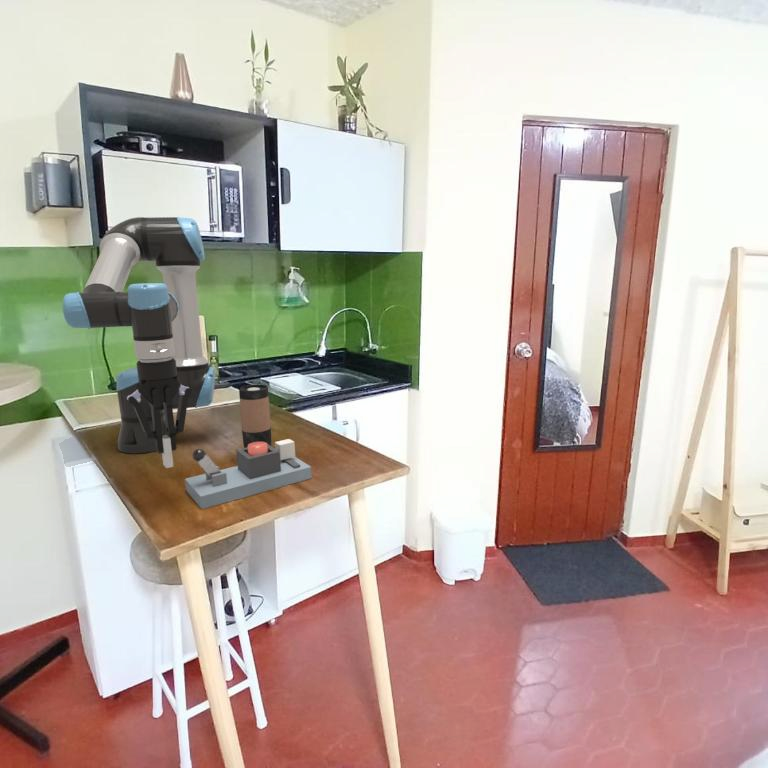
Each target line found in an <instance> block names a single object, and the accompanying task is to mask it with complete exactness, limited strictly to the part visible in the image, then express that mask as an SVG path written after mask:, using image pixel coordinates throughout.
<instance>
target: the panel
mask: <svg viewBox="0 0 768 768" xmlns="http://www.w3.org/2000/svg"><path fill="white" fill-rule="evenodd" d="M267 448H268V453H264V454H260V455H256V456H250V455H249V454H248V447H247V448H244V447H243V448H239V449H235V453H236V461H237V464H236V466H232V467H231V466H230V467H228V468H223V469H220V466H218V465H216V467H217V468H218V469H219V470H220V471H221V473H218V474H214V475H212V478H211V477H210V476H209V475H208V474H207V473H206V472H205V473H203V474H202V473H201V474H199V475H194V476H190V477H187V478H184V484H185V485H184V486H185V491H186V492H187V494H188V495H189V496H190V497H191V498H192V500H194V502H195V503H196V504H197V505H198V506H199V508H200V509H201V510H204V509H207V508H211V507H214V506H218V505H221V504H225V503H228V502H229V503H230V502H232V501H236V500H239V499H242V498H247V497H250V496H254V495H257V494H260V493H264V492H267V491H271V490H275V489H278V488H279V489H280V488H283V487H285V486H289V485H292V484H296V483H299V482H303V481H306V480H309V479H312V477H313V476H312V466H311V465H309V464H308V463H306V462H304V461H303V460H301V459H300V458H298V457H296V456H295V457H292V458H288V459H284V460H280V452H279V451H278V450H276V449H275V447H273V446H270V445H269V444H267Z"/></svg>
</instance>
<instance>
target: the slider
mask: <svg viewBox="0 0 768 768" xmlns="http://www.w3.org/2000/svg"><path fill="white" fill-rule="evenodd" d="M295 443H296V442H295V441H294V440H292V439H290V438H287V439H282V440H279V441H275V442H274V448H275V449H276V450H278V451H279V452H280V460H284V459H288V458H292V457H296V445H295Z"/></svg>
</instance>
